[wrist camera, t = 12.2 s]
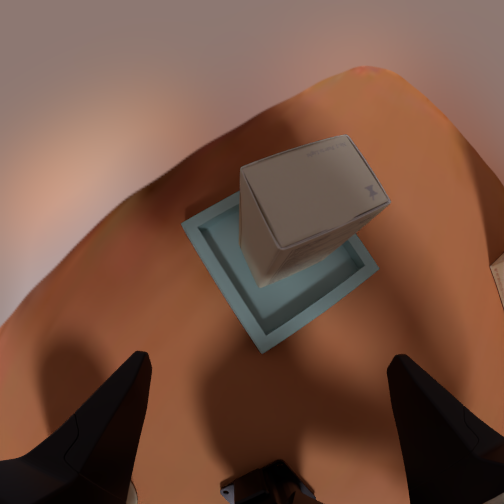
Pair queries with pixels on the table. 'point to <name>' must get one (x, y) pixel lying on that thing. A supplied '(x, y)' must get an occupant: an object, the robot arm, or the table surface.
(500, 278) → the coffeecake box
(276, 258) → the skincare box
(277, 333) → the tray
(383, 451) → the table surface
